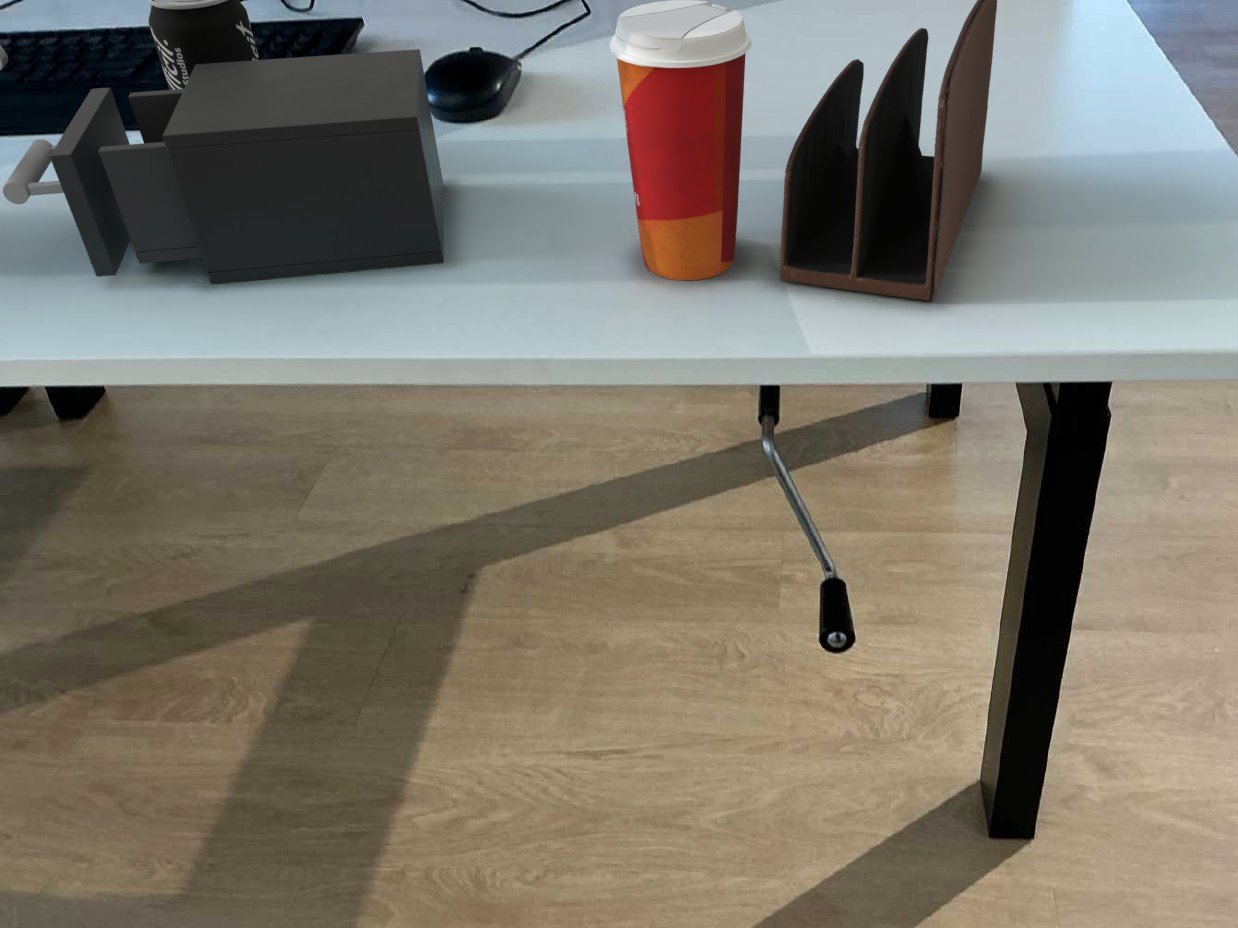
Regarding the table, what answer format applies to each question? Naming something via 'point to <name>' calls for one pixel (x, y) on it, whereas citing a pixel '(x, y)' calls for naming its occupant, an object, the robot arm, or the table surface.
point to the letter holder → (888, 172)
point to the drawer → (114, 181)
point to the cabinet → (309, 165)
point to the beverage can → (199, 35)
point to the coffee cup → (683, 130)
